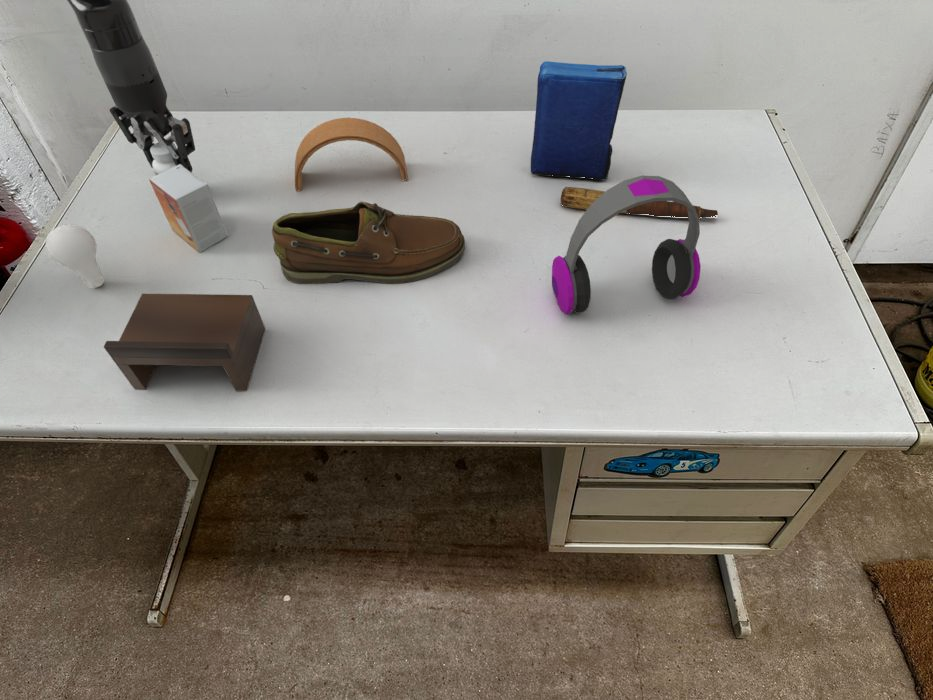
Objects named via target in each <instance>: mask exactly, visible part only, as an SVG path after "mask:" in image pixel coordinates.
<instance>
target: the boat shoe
mask: <svg viewBox="0 0 933 700" xmlns="http://www.w3.org/2000/svg"><path fill="white" fill-rule="evenodd" d="M271 233H272V239H273V241H274V243H273V247H272V248H273V252H274V254H275V255H276V256H277V258H278V260H279V264H280V267H281V272H282V274H283V276H284V277H285V279H286V280H287V281H289V282H292V283H295V284H296V283H297V284H338V283H340V282H342V281H343V280H356V281H363V282H370V283H371V282H372V283H380V284H405V283H411V282H416V281H419V280H423V279H426V278H428V277H431V276H433V275H436V274H437V273H440V272H442V271H444V270H446V269H447V268H449V267H450V266H452V265H454V264H455V263H456V262H457V261H458V260H459V259H461V257H462V256H463V255H464V253H465V251H466V239H465V236H464V234H463V233H462V230H461V228H460V226H459V225H458V224H457V223H456V222H455V221H453V220H450V219H447V218H444V217H437V216H426V215H413V214H412V215H410V214H401V213H394V212H393V211H391V210H389V209H387V208H385V207H382V206H379V205H378V204H377V203H370V202H367V201H359V202H358V203H356V204H355V205H354V206H352V207H347V208H345V207H344V208H332V209H326V210H319V211H310V212H307V211H306V212H290V213H287V214H284V215H282V216H281V217H279V218H277V219H276V220H275V221H274V222H273V224H272V229H271Z"/></svg>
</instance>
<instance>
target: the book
mask: <svg viewBox="0 0 933 700" xmlns="http://www.w3.org/2000/svg"><path fill="white" fill-rule="evenodd" d="M627 75H628V73H627V69H626V66H624V65H622V64H615V65H614V64H613V65H611V64H610V65H607V64H606V65H603V64H600V65H599V64H587V63H586V64H584V63H569V62H558V61H548V60H547V61H543V62H542V63H541V64H540V66H539V72H538V76H537V83H536V84H537V86H536V87H537V88H536V89H537V91H536V102H535V103H536V104H535V115H534V126H533V127H534V128H533V138H532V147H531V154H530V173H531V174H533V175H538V174H539V176H543V175H544V176H545V175H546V176H549V175H550V176H549V177H553V176H570V177H585V178H593V179H604V180H606V179H607V178H608V176H609V172H610V169H611V165H612V155H613V146H612V144H611V141H612V139H613V135H614V132H615V131H614V130H615V127H616V124H617V123H616V122H617V118H618V114H619V108H620V105H621V101H622V97H623V93H624V88H625V84H626V79H627ZM552 175H553V176H552ZM606 177H607V178H606ZM605 178H606V179H605ZM593 179H592V180H593Z"/></svg>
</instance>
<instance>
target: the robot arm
mask: <svg viewBox="0 0 933 700" xmlns="http://www.w3.org/2000/svg"><path fill="white" fill-rule="evenodd" d="M66 1H67V3H68V4H69V6H70V7H71V8H72V10H73V12H74V14H75V16H76V19H77V21H78V24H79V25H80V28H81V30H82V32H83V35H84V37H85V39H86V41H87V43H88V45H89V47H90V51H91V53H92V57H93V59H94V63H95V65H96V67H97V69H98V71H99V73H100V75H101V78H102V79H103V81H104V83H105V86H106V88H107V90H108V92H109V93H110V96H111V99H112V100H113V102H114V105H113V106H112V107H110V108H109V112H110V114H111V116H112V117H113V119H114V120H115V122H116V124H117V126H119V129H120V130H121V132H122V133H123V135H124V136H125V139H126V140H127V141H128V142H129V143H130V144H136V145H137V147H138V148H139V149H140V150H142V152H143V154H144V157H145V158H146V160H147V162H148V165H150V168H151V169H153V167H152V163H153V160H154V159H153V157H152V154H151V152H150V148H151V147H152V146H153V145H154V144H156V143H155V139H156V141H157V143H158V142H159V143H160V145H161V146H162V147H166V148H167V150H168V151H169V152H170V154H171V155H172V156H173V160H174V163H175V165H176V166H177V165H179V164H181V165H182V166H184V167H185V168H186V169H187V170H188V171H190V172H191V173H193V166H192V163H191V161H190V159H189V155H190V154H192V153H193V152H195V151H196V146H195V140H194V136H193V132H192V126H191V123H190V120H188V118H186V117H183V118H182V119H178V118H176V117H174V116H173V113H172V112H171V111H170V109H169V108H168V106H167V100H168V93H167V92H168V91H167V90H166V87H165V84H164V82H163V80H162V78H161V75H160V72H159V70H158V67H157V64H156V62H155V60H154V57H153V55H152V52H151V49H150V48H149V46H148V44H147V43H146V41H145V38H144V36H143V35H142V31H141V30H140V27H139V24H138V22H137V20H136V17H135V15H134V12H133V9H132V7H131V5H130V4H129V1H128V0H66ZM130 127H131V128H132V131H133V132H131V130H130ZM169 133H170V135H169ZM167 135H169V136H168V137H166V136H167ZM165 137H166V138H165ZM172 143H174V144H175V145H176V148H177V149H175V148H174V147H173V145H172Z"/></svg>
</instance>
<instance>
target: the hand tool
mask: <svg viewBox="0 0 933 700" xmlns="http://www.w3.org/2000/svg"><path fill="white" fill-rule="evenodd" d="M605 191H606V190H605ZM605 191H604V190H598V189H591V188H583V187H572V186H565V187H564V188H563V189H562V191H561V194H560V205H561V204H562V205H563V206H562V205H561V206H562V207H566V208H571V209H572V208H573V209H581V210H585V211H586V210H587V209H588V208H589V206H590V205H591V204H592V203H593V202H594V201H595V200H596V199H597V198H599V197H600V196H601V195H602V194H603V193H604V192H605ZM692 205H693V204H692ZM693 207H694V208H695V210H696V212H697V215H698V217H699V218H700V217H702V219H704V218H703V217H711V216H712V217H713V216H715V215H718V216H719V212H718V210H717V209H708V208H703V207H701V206H700V205H699V206H698V205H693ZM621 213H628V214H627V215H629V213H630V214H649V215H654V216H671V217H672V216H673V217H674V216H675V217H688V209H687V207H686V206H685V205H683V204H680V203H677V202H673V201H654V202H650V203H646V204H641V205H637V206H635V207H633V208H630V209H628V210H626V211H623V212H621ZM715 217H716V216H715Z"/></svg>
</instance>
